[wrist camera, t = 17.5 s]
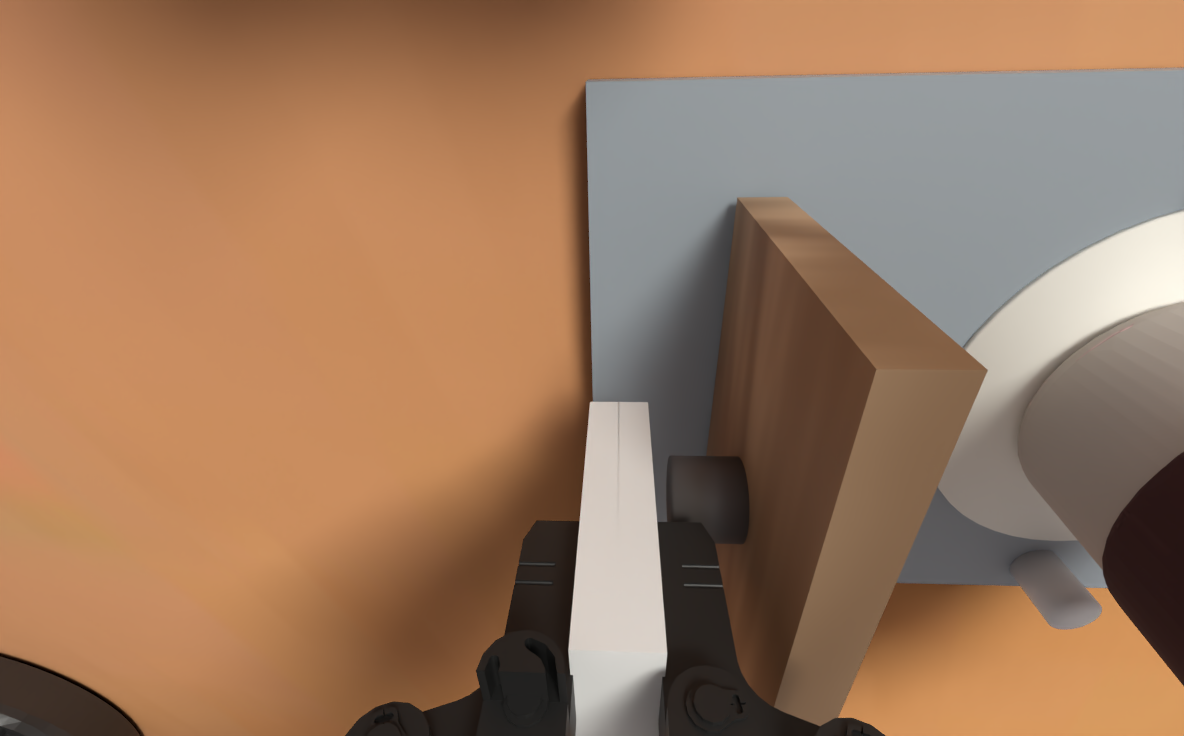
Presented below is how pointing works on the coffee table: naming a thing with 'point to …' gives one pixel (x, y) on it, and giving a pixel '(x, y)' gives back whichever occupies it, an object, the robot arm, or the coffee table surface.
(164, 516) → the coffee table surface
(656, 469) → the grey flat slab
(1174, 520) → the coffee cup
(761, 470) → the panel
